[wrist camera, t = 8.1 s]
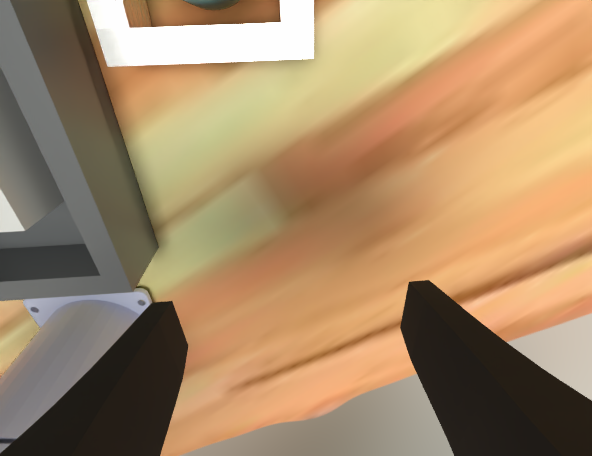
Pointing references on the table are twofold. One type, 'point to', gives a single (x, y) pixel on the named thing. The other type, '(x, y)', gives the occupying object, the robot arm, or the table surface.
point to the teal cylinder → (212, 4)
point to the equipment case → (63, 164)
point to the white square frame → (200, 36)
